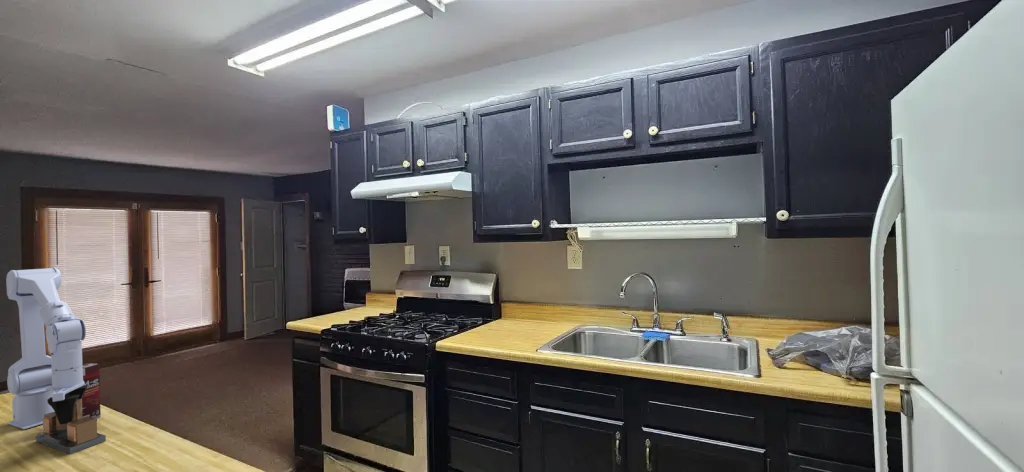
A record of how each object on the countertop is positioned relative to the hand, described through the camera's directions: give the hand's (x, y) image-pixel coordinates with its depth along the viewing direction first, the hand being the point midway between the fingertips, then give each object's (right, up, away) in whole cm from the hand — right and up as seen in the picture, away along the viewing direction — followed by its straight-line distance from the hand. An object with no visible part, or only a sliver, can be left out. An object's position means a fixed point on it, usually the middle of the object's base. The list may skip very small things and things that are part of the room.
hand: (69, 419), depth 118 cm
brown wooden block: (0, -2, 0) cm, 2 cm away
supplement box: (-9, -6, +12) cm, 16 cm away
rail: (0, -6, 0) cm, 6 cm away
